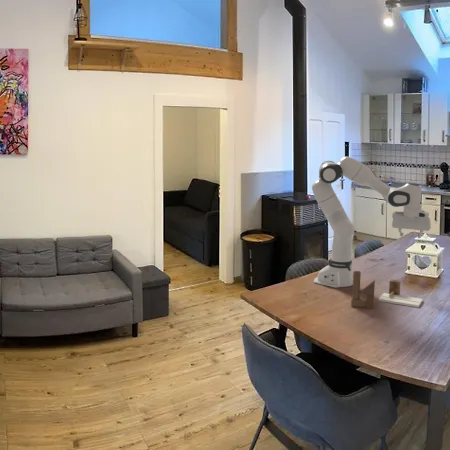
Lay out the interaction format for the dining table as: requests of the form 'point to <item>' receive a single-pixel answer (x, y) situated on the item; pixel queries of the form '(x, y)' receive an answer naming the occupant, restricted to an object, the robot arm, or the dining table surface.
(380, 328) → the dining table surface
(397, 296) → the board
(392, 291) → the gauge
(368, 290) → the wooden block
